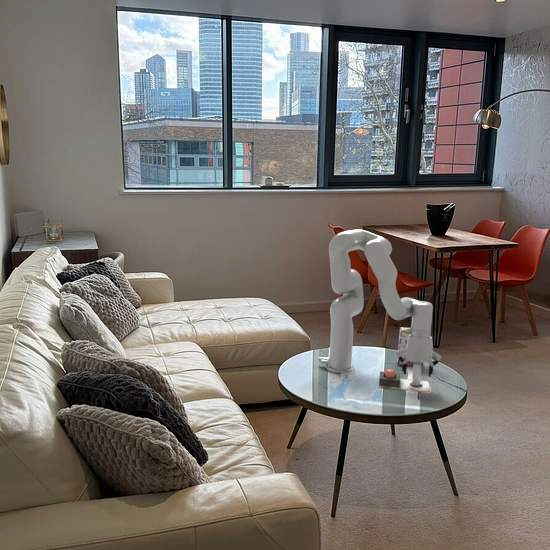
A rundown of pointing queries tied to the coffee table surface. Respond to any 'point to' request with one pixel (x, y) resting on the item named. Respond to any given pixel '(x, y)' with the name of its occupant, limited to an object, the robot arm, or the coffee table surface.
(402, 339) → the candy bar box
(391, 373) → the button
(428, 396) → the coffee table surface
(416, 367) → the cylinder
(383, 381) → the drawing board
